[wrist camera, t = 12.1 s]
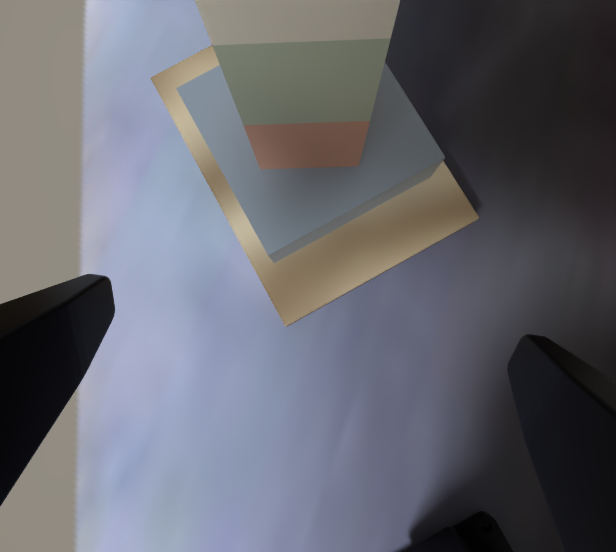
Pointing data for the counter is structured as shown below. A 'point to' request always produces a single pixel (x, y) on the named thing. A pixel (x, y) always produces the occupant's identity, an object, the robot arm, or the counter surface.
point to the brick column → (302, 74)
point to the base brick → (313, 181)
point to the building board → (337, 244)
